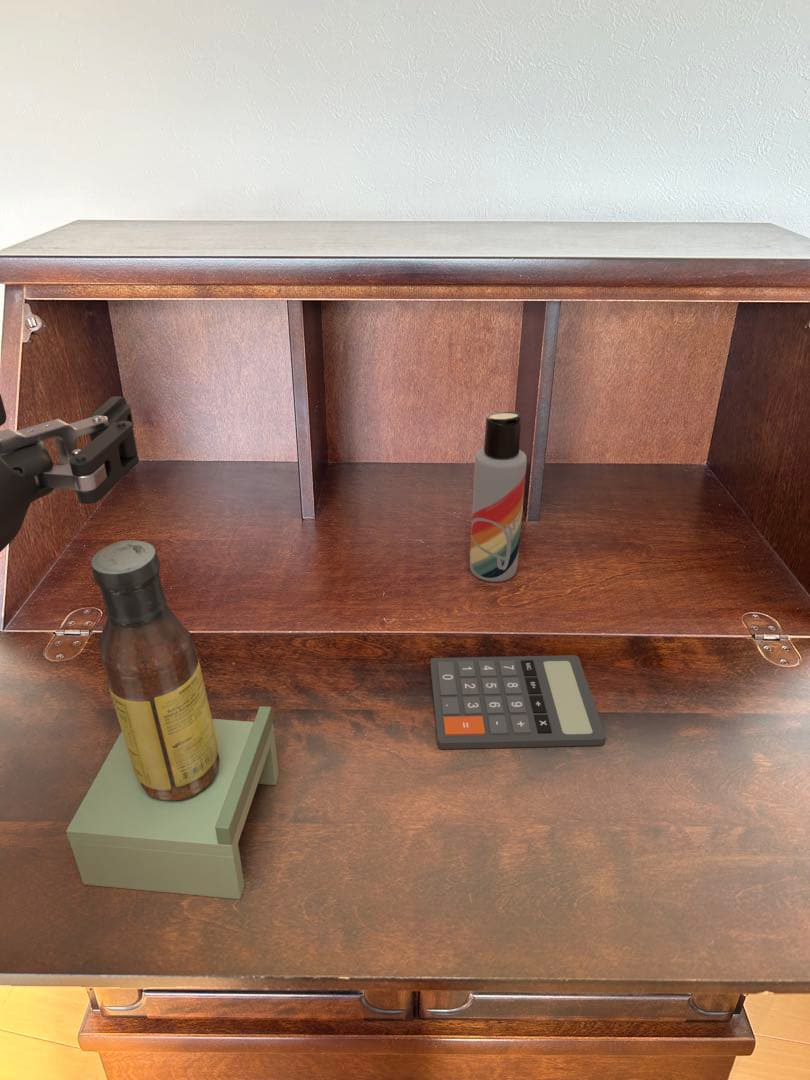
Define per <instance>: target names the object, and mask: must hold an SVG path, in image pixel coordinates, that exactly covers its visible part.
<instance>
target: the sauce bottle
mask: <svg viewBox="0 0 810 1080" xmlns="http://www.w3.org/2000/svg"><path fill="white" fill-rule="evenodd" d="M90 567H91V571H92V576H93V580H94V582H95V583H96V584H97V586H98V587H99V588H100V592H101V595H102V598H103V599H102V600H103V602H104V605H105V615H106V617H107V619H106V622H105V624H104V626H103V628H102V631H101V633H100V635H99V638H98V649H99V654H100V659H101V665H102V667H103V669H104V672H105V675H106V683H107V687H108V691H109V693H110V697H111V701H112V703H113V707H114V710H115V713H116V716H117V719H118V722H119V726H120V729H121V732H122V733H123V736H124V740H125V743H126V747H127V750H128V753H129V757H130V760H131V763H132V767H133V770H134V774H135V776H136V777H137V779H138V780H139V781H140V783H141V786H142V787H143V789H144V790H145V791H146V793H147V794H148V795H149V796H150V797H152V798H156V799H159V800H169V801H178V800H184V799H187V798H189V797H192V796H194V795H196V794H197V793H199V792H201V791H203V790H204V789H206V788H207V786H208V785H210V784H211V782H212V781H213V780H214V778H215V776H216V774H217V772H218V767H219V754H218V744H217V739H216V735H215V730H214V725H213V721H212V719H213V717H212V714H211V713H212V712H211V709H210V703H209V700H208V695H207V690H206V686H205V681H204V677H203V672H202V667H201V664H200V660H199V655H198V652H197V649H196V647H195V644H194V642H193V638H192V634H191V632H190V631H189V630H188V629H187V628H186V627H185V626H184V625H183V624H182V622H181V621H180V620H179V618H178V617H177V616H176V614H175V613H174V612H173V610H172V609H171V608H170V607H169V605H168V603H167V602H168V601H167V600H168V599H167V597H166V594H165V593H164V589H163V586H162V582H161V575H160V569H161V562H160V559H159V556H158V553H157V550H156V547H155V546H154V545H152V544H151V543H149V542H146V541H140V540H137V539H128V540H127V539H126V540H125V539H124V540H121V541H116V542H114V543H111V544H110V545H106V546H105V547H103V548H102V549H100V550H98V551H97V552H96V553H95V554H94V555H93V556H92V557H91V560H90Z"/></svg>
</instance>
